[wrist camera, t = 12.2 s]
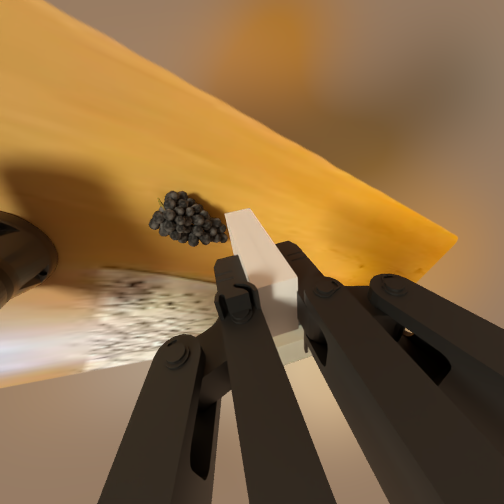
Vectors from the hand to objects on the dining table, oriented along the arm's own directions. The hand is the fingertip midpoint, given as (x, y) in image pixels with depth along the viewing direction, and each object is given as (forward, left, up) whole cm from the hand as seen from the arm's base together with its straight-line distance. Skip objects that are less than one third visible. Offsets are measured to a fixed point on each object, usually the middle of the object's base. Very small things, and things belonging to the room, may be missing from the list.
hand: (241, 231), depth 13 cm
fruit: (-6, -10, -30) cm, 32 cm away
